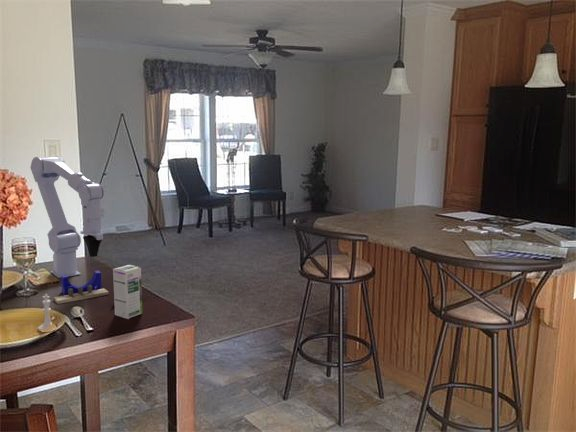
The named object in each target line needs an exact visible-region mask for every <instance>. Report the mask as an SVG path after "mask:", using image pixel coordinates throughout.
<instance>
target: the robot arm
mask: <svg viewBox="0 0 576 432" xmlns="http://www.w3.org/2000/svg"><path fill="white" fill-rule="evenodd" d="M29 169H30V171H31V173H32V176H33V179H34V182H35V183H36V184H37V186H38V189H39V192H40V196H41V197H42V201H43V204H44V207H45V209H46V213H47V216H48V218H49V221H50V224H51V226H52V227H51V229H50V230H49V231H48V233H47V238H48V246H49V248H50V250H52V252H53V256H52V260H53V261H52V263H53V265H52V266H53V270H51V271H50V272H51V274H53V275H54V276H55V277H56V278H58V279H61V275H67V276H68V277H73V276H81V274H82V273H81V272H79V271H78V270H77V269H78V268H77V267H78V266H77V250H78V249H79V247H80V246H81V243H82V239H83V241H84V242H85V245H86V247H87V250H88V254H89V255H88V256H89V257H91V258H94V257H98V253H99V250H100V249H99V248H100V246H101V244H102V241H103V240H104V234H103V230H102V216H101V215H102V213H101V208H102V207H101V199H103V198H104V194H105V190H104V188H103V186H102V184H101V182H100V183H99V182H92V180H90V179H88V178H87V177H86V176H85V175H84V174H83V173H82V172H74V171H73V170H72V169H71V168H70V167H69V166H68V165H67V164H66V163H65V160H64V159H63V158H62V157H61V156H59V155H56V156H41V157H40V156H39V157H38V156H34V157H33V158H32V160H31V163H30V167H29ZM60 177H61V178H63V179H65V180H66V181H67V185H68V186H69V187H70V188H72V190H74V191H75V192H76V193H77V194H78V197H79V199H80V205H81V206H82V213H83V214H82V216H83V218H82V219H83V220H82V221H83V227H82V230H81V231H79V232H80V233H79V232H78V231H77V229H76V227H75V226H74V225H72V224H70V223H68V220H67V218H66V215H65V212H64V209H63V206H62V203H61V201H60V198H59V195H58V191H57V190H56V186H55V182H57V181H58V180H59V179H60ZM80 234H81V235H83V236H82V238H81V235H80ZM84 235H85V236H84ZM86 235H87V236H86Z"/></svg>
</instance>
